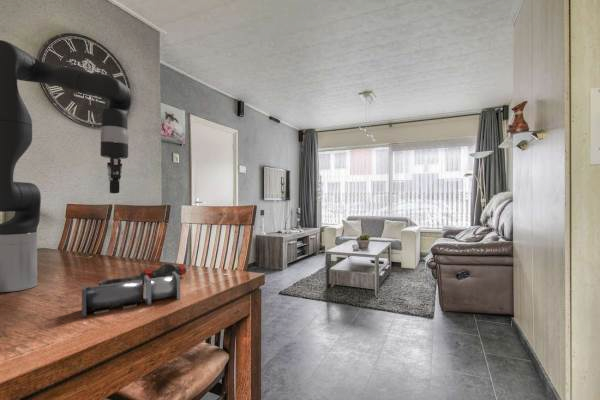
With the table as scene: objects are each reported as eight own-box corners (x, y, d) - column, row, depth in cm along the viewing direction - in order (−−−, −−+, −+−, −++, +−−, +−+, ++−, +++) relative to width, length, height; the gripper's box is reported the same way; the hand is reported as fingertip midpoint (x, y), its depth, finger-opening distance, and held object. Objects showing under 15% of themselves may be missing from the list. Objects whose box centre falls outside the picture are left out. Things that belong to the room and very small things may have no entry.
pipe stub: (81, 317, 68) (81, 290, 68) (82, 309, 74) (82, 283, 74) (143, 306, 76) (143, 281, 76) (140, 299, 81) (140, 276, 81)
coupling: (174, 293, 86) (174, 271, 86) (180, 299, 81) (180, 276, 81) (144, 298, 82) (144, 275, 82) (147, 305, 76) (147, 280, 76)
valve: (184, 276, 113) (188, 280, 100) (104, 289, 102) (96, 295, 89) (183, 260, 114) (187, 261, 101) (103, 270, 103) (96, 273, 89)
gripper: (100, 144, 98) (99, 193, 98) (100, 137, 86) (100, 192, 86) (126, 147, 102) (125, 193, 102) (130, 140, 91) (130, 193, 91)
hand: (114, 193), depth 94 cm, fingers open, 8 cm apart
